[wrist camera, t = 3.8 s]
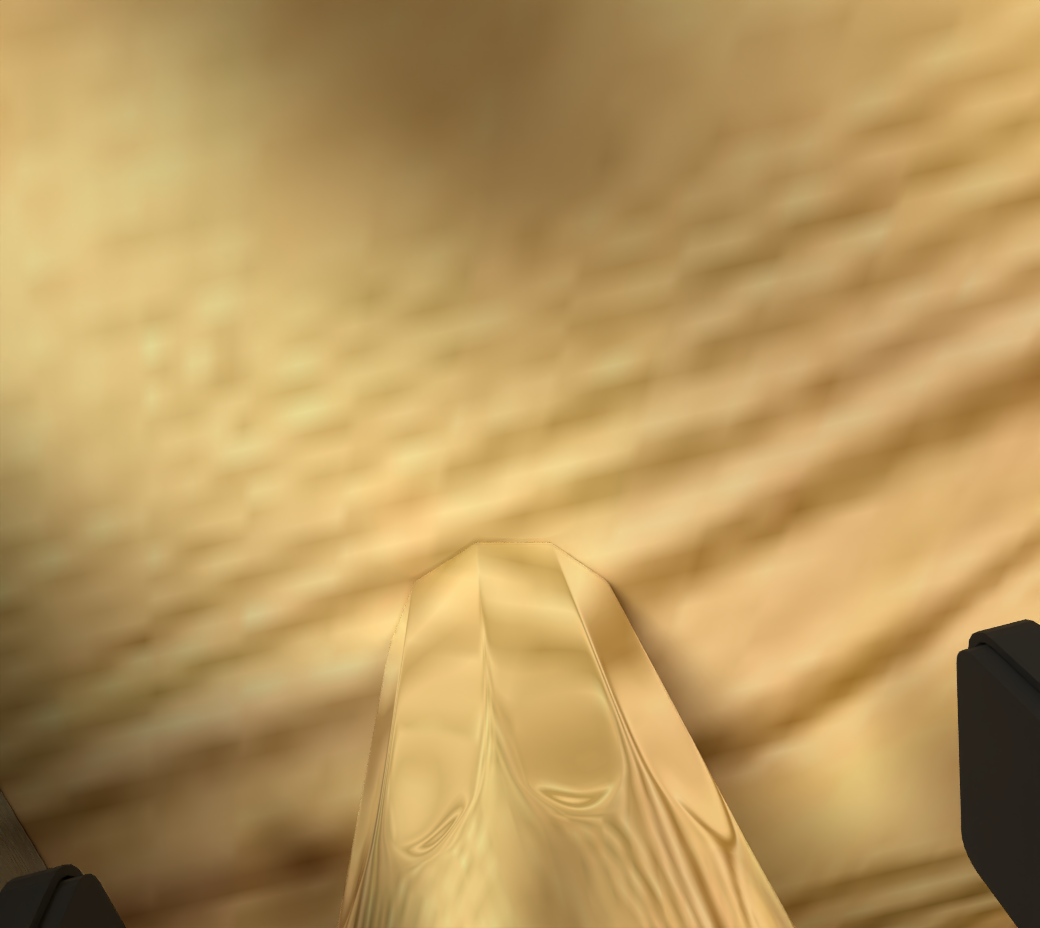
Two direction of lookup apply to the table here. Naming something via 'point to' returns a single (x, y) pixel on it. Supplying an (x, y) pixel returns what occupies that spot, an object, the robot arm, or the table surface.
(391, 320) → the table surface
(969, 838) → the robot arm
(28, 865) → the box
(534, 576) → the milkshake
